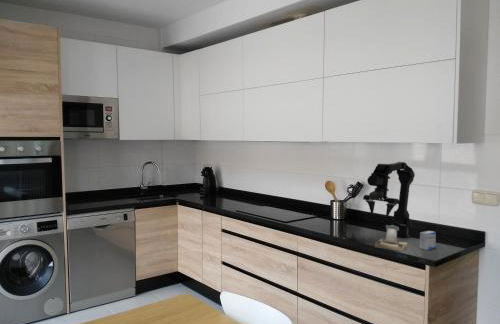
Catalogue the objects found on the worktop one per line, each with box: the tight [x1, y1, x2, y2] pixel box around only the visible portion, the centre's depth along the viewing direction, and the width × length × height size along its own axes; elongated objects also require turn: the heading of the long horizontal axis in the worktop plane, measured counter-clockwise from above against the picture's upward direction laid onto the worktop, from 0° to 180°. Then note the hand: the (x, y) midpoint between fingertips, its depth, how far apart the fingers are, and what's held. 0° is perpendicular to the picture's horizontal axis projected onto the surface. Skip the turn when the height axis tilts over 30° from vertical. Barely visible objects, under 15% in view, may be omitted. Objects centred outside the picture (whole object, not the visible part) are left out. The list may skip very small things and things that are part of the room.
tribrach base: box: [374, 236, 409, 252], centre depth 205 cm, size 12×14×5 cm
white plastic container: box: [385, 224, 399, 242], centre depth 205 cm, size 5×6×9 cm
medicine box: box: [419, 230, 437, 251], centre depth 203 cm, size 8×4×9 cm, turn 126°
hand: (379, 215), depth 211 cm, fingers open, 9 cm apart
